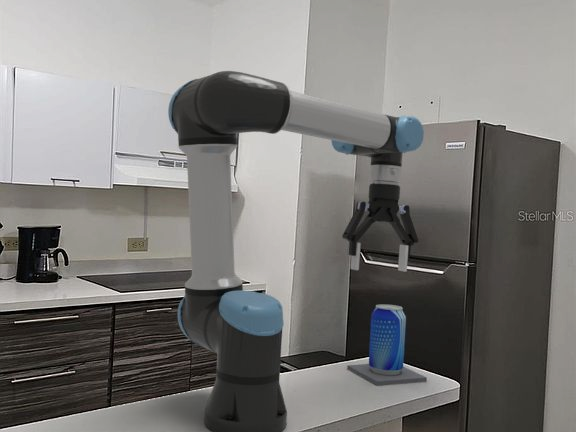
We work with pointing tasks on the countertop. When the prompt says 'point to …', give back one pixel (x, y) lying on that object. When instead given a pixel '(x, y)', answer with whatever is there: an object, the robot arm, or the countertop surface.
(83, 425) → the countertop surface
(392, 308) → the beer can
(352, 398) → the countertop surface
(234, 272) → the robot arm
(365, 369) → the mat
